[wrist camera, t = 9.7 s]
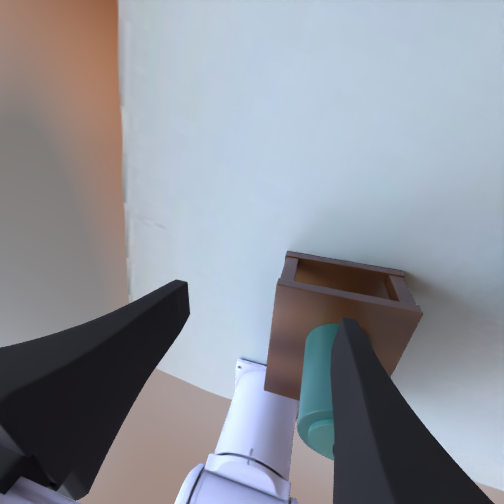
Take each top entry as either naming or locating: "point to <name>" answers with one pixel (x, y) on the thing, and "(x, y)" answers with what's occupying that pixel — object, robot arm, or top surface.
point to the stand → (335, 313)
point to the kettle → (318, 392)
